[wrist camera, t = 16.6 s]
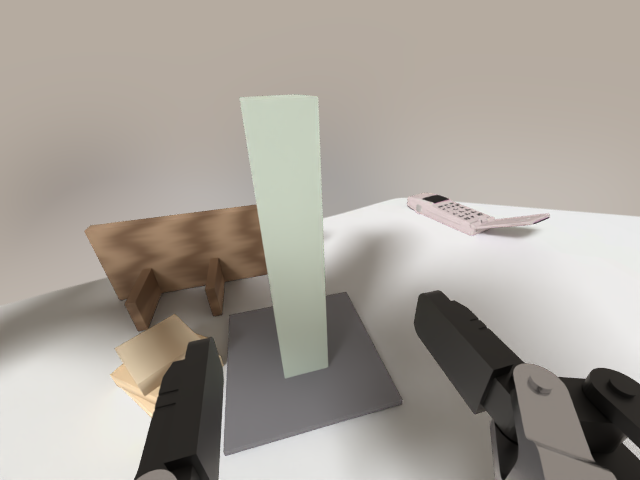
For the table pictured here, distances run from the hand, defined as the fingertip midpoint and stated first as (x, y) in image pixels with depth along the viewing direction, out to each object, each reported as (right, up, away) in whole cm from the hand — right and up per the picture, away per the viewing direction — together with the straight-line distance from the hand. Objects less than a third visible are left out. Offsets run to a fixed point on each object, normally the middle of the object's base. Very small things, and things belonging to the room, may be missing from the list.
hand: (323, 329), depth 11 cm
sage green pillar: (-2, -7, +17) cm, 18 cm away
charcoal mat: (-2, -8, +17) cm, 19 cm away
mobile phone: (+25, +6, +41) cm, 48 cm away
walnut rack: (-15, -4, +25) cm, 29 cm away
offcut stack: (-14, -9, +15) cm, 23 cm away
